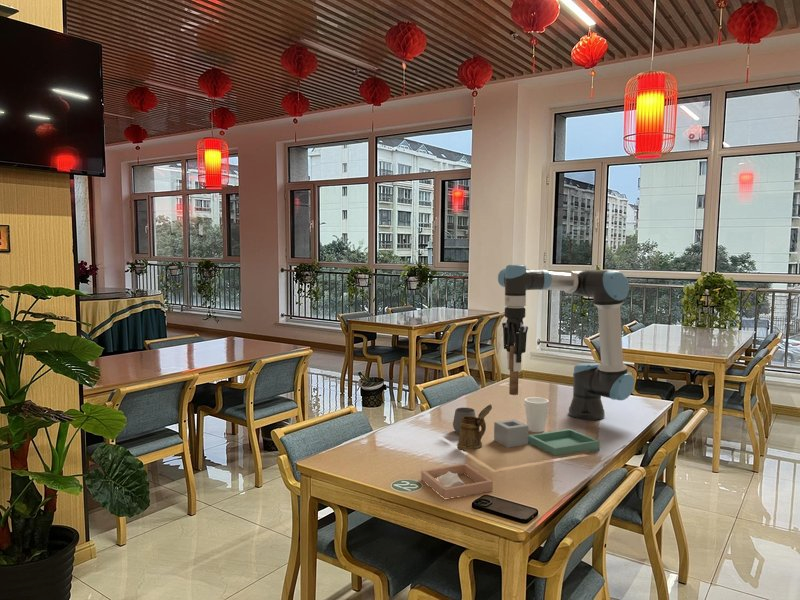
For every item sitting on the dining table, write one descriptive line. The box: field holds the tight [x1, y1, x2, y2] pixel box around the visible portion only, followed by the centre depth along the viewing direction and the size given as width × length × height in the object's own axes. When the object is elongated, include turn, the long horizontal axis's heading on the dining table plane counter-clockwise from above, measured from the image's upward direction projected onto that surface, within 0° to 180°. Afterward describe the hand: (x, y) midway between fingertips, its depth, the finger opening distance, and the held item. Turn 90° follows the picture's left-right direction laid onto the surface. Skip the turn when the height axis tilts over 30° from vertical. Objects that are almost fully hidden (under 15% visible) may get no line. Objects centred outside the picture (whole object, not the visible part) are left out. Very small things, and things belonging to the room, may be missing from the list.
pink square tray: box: [420, 462, 494, 499], centre depth 179 cm, size 16×16×3 cm
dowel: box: [508, 344, 519, 396], centre depth 214 cm, size 3×3×18 cm
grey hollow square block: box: [493, 418, 529, 448], centre depth 216 cm, size 9×9×8 cm
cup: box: [452, 407, 477, 435], centre depth 228 cm, size 10×9×10 cm
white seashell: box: [436, 472, 465, 488], centre depth 179 cm, size 10×4×10 cm
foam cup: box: [524, 396, 550, 433], centre depth 232 cm, size 10×9×13 cm
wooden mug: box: [456, 404, 493, 452], centre depth 211 cm, size 9×14×18 cm, turn 47°
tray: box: [528, 428, 601, 458], centre depth 214 cm, size 20×16×4 cm
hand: (514, 369), depth 214 cm, fingers closed on dowel, 3 cm apart
